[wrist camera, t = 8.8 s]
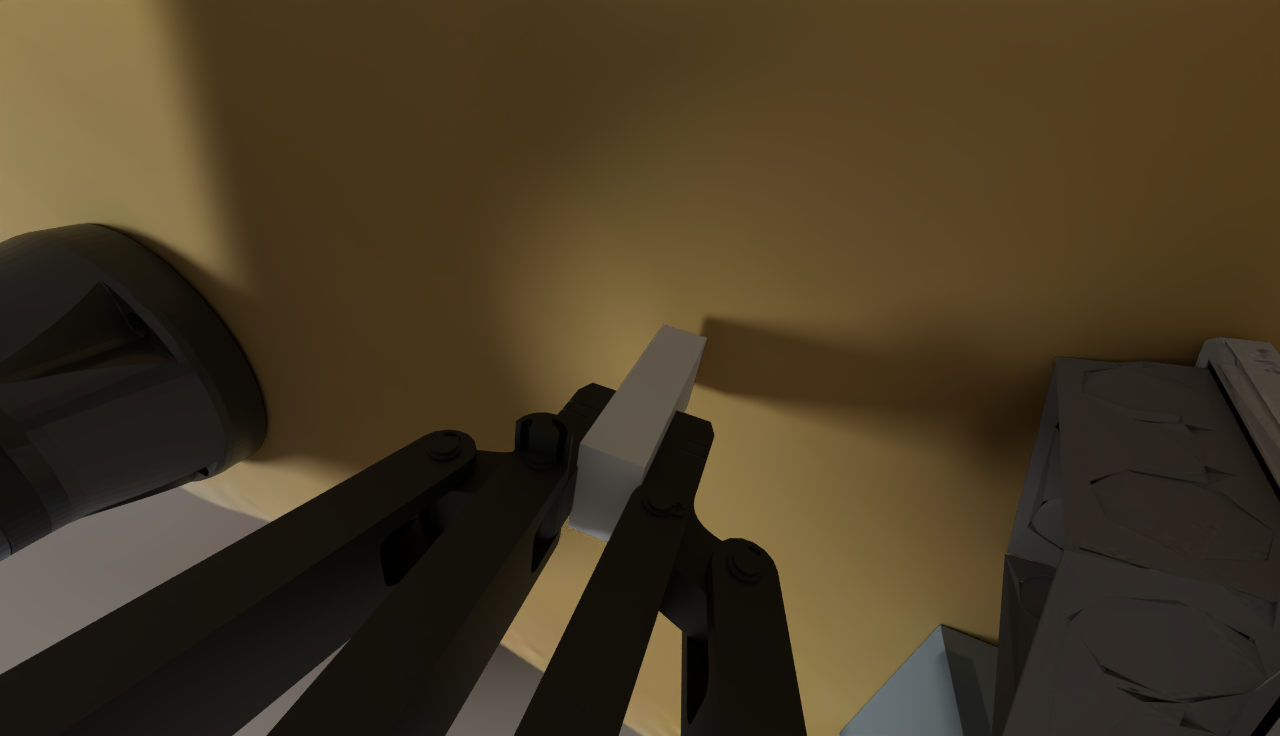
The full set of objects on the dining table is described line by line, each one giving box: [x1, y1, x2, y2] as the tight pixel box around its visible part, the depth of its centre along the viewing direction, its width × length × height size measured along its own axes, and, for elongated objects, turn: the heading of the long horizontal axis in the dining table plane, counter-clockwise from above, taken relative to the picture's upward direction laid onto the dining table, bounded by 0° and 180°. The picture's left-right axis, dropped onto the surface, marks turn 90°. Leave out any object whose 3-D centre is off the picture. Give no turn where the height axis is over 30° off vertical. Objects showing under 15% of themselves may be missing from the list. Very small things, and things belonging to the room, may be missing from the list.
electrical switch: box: [992, 337, 1280, 736], centre depth 11 cm, size 9×5×9 cm, turn 9°
